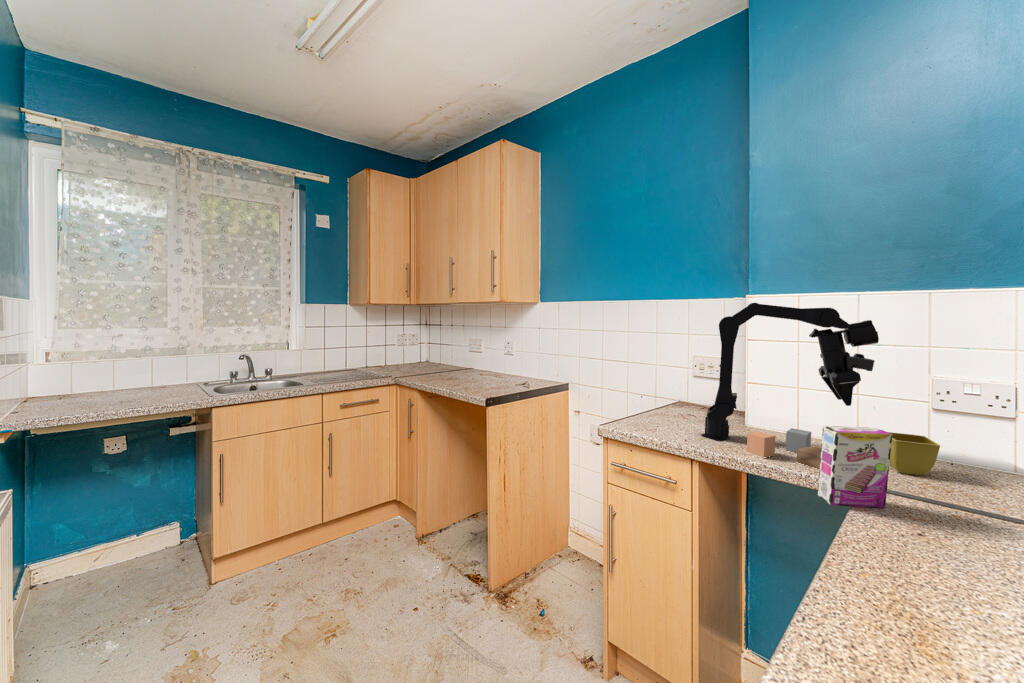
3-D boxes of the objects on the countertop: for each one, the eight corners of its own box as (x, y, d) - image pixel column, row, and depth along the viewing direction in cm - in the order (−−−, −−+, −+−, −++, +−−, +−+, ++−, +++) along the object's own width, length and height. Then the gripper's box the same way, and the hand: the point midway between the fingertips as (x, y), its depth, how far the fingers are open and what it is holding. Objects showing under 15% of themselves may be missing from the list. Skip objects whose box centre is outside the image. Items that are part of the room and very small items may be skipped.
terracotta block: (746, 453, 123) (747, 433, 122) (757, 451, 125) (758, 431, 124) (763, 458, 118) (764, 438, 118) (774, 456, 120) (775, 435, 120)
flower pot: (921, 468, 111) (924, 435, 111) (938, 480, 103) (941, 445, 103) (879, 463, 115) (881, 431, 114) (892, 474, 107) (894, 440, 106)
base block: (796, 463, 115) (797, 449, 115) (811, 459, 118) (812, 445, 118) (824, 472, 109) (825, 457, 109) (839, 468, 112) (840, 453, 112)
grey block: (785, 451, 125) (786, 431, 124) (790, 447, 128) (791, 428, 128) (805, 455, 121) (806, 435, 121) (810, 451, 125) (811, 431, 124)
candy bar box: (831, 506, 89) (836, 431, 88) (816, 496, 94) (821, 425, 93) (888, 509, 88) (893, 433, 87) (870, 498, 93) (875, 426, 92)
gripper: (878, 347, 110) (891, 405, 110) (857, 342, 127) (868, 393, 127) (827, 354, 115) (839, 410, 115) (813, 349, 132) (824, 397, 132)
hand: (844, 402), depth 122 cm, fingers open, 9 cm apart
